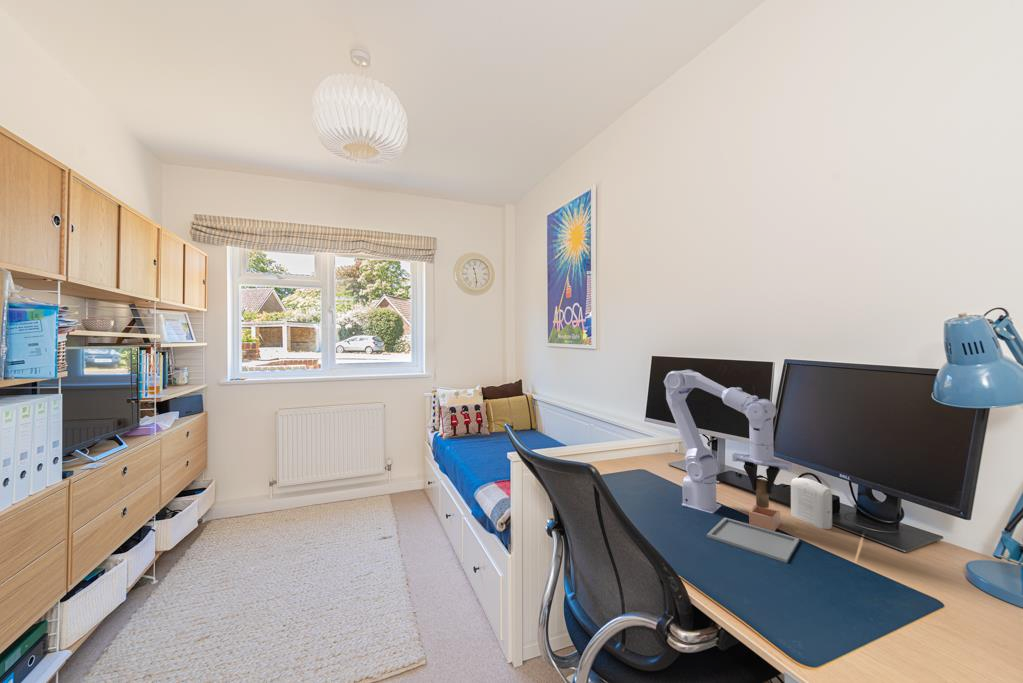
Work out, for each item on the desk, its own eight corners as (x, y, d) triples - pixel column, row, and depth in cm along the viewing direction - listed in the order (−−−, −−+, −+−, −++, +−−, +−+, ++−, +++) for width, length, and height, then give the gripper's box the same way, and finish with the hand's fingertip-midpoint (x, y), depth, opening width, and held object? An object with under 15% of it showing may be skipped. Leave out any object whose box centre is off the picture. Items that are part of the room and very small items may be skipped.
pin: (755, 505, 112) (754, 481, 112) (757, 502, 114) (757, 478, 114) (767, 508, 110) (766, 483, 110) (770, 505, 112) (769, 480, 112)
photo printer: (835, 529, 110) (834, 485, 110) (824, 532, 109) (823, 487, 109) (798, 514, 120) (798, 473, 120) (788, 516, 119) (787, 475, 119)
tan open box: (749, 525, 113) (749, 511, 113) (755, 518, 117) (755, 505, 117) (774, 532, 109) (774, 518, 109) (780, 525, 113) (779, 511, 113)
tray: (706, 538, 106) (706, 534, 106) (724, 521, 116) (724, 517, 116) (786, 565, 93) (786, 559, 93) (799, 543, 103) (799, 538, 103)
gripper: (728, 441, 114) (729, 488, 114) (789, 450, 104) (790, 502, 104) (736, 436, 119) (737, 482, 119) (794, 445, 109) (795, 494, 109)
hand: (762, 491), depth 112 cm, fingers closed on pin, 3 cm apart
